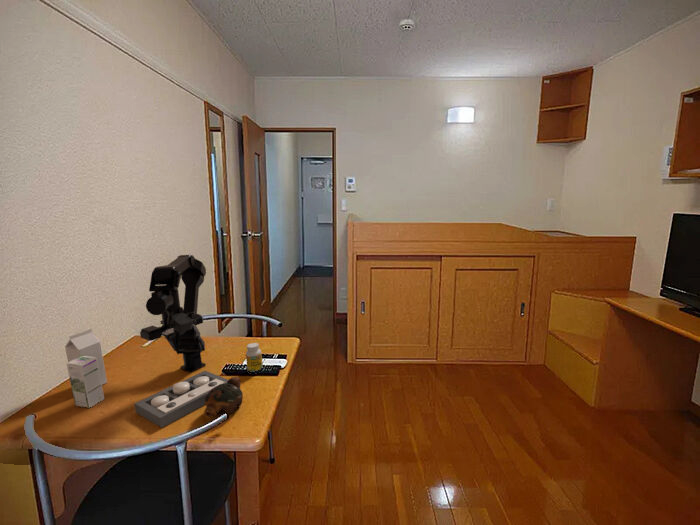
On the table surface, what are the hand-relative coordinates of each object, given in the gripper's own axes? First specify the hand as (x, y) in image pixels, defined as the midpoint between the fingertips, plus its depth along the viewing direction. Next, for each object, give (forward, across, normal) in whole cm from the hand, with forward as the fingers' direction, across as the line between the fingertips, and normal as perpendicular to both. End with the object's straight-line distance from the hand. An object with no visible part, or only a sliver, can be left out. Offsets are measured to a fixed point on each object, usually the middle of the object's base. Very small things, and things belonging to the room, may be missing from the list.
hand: (176, 350), depth 131 cm
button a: (+11, -12, -9) cm, 18 cm away
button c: (+11, +2, -9) cm, 14 cm away
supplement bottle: (+12, +20, -14) cm, 27 cm away
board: (+12, -5, -11) cm, 17 cm away
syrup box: (+12, -22, +14) cm, 29 cm away
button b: (+10, -5, -9) cm, 14 cm away
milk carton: (+12, -17, +26) cm, 33 cm away
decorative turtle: (+12, -2, -26) cm, 29 cm away
